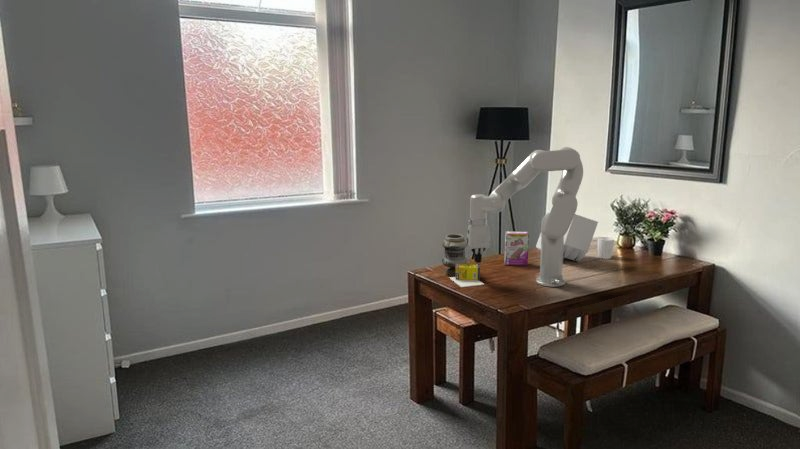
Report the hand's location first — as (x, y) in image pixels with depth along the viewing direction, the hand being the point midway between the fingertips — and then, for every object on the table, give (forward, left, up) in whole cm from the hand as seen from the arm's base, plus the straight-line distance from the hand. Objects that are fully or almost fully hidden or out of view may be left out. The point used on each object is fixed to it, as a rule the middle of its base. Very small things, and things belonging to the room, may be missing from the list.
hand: (477, 262), depth 243 cm
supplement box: (+1, -2, -5) cm, 6 cm away
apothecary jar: (+15, +5, -9) cm, 18 cm away
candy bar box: (+17, -29, -9) cm, 35 cm away
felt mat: (0, +5, -9) cm, 10 cm away
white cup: (+13, -78, -9) cm, 80 cm away
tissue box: (+16, -56, -9) cm, 59 cm away
